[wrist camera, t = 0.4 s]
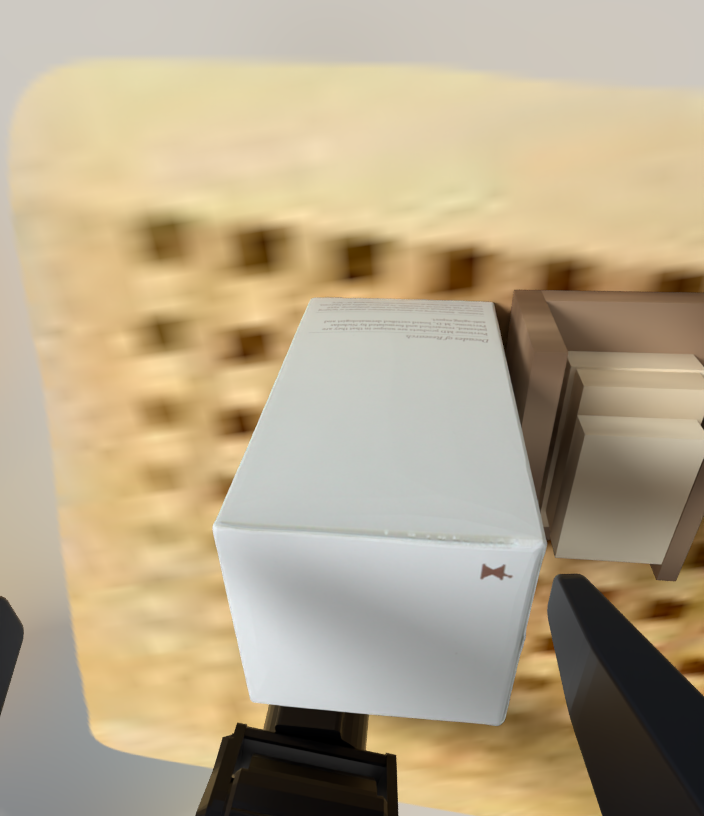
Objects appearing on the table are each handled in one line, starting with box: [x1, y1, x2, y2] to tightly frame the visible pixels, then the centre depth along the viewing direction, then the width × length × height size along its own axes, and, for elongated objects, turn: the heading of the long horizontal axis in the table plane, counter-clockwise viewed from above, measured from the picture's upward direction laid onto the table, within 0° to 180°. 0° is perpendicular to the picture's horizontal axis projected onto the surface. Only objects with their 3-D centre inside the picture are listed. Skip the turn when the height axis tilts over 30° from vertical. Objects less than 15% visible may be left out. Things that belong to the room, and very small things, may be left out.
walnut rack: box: [505, 290, 704, 581], centre depth 22 cm, size 12×8×5 cm, turn 2°
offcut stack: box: [538, 351, 704, 564], centre depth 22 cm, size 8×5×4 cm, turn 2°
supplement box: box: [213, 298, 547, 726], centre depth 19 cm, size 7×7×13 cm
